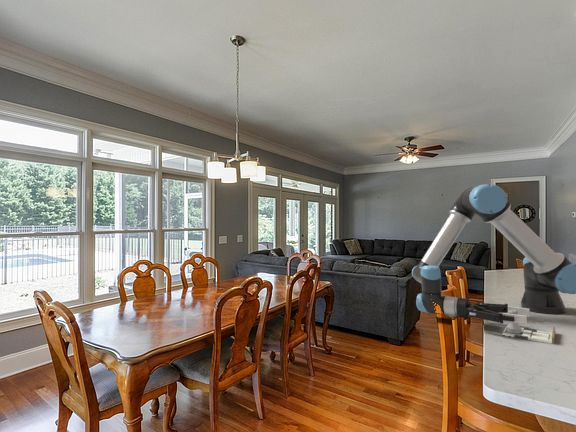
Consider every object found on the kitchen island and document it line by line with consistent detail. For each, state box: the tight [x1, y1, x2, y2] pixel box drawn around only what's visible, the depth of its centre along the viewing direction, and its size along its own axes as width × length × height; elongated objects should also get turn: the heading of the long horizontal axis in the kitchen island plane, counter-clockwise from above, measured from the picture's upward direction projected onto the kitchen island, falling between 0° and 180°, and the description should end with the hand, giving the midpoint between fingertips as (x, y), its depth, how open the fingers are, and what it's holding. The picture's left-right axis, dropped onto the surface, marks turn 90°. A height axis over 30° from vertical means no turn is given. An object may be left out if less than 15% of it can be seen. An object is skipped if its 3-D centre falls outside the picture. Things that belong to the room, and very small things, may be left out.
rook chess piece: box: [506, 309, 523, 335], centre depth 114 cm, size 4×4×8 cm
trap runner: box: [501, 324, 556, 345], centre depth 111 cm, size 12×14×2 cm
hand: (528, 316), depth 111 cm, fingers open, 10 cm apart
